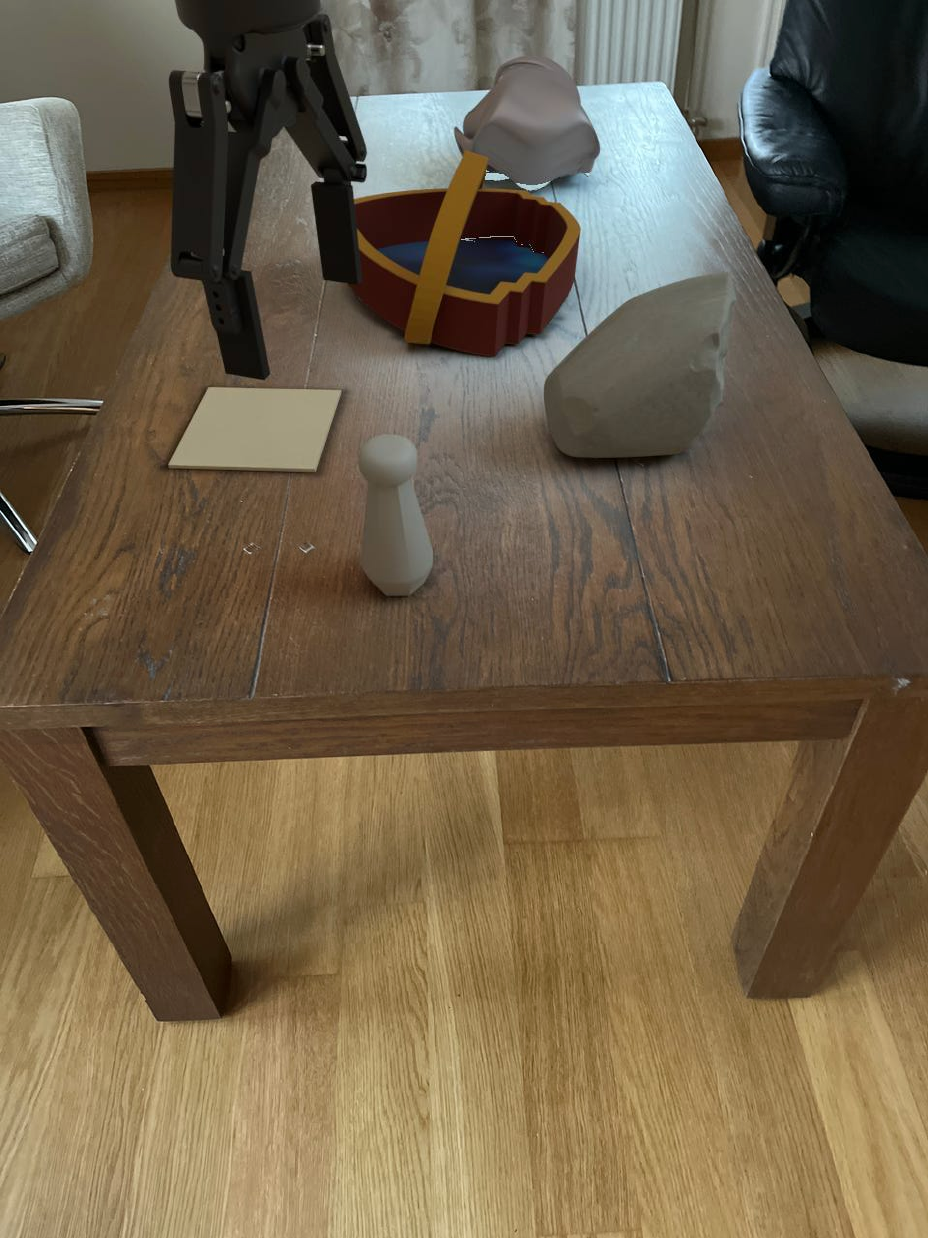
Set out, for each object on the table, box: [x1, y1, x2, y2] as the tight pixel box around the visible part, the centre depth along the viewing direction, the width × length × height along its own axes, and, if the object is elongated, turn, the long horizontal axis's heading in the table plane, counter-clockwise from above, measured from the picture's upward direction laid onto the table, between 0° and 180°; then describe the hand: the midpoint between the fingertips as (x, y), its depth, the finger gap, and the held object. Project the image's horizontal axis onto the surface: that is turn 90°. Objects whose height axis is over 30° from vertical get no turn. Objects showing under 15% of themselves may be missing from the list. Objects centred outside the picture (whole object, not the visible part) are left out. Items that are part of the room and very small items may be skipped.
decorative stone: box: [543, 271, 737, 459], centre depth 86 cm, size 12×17×15 cm
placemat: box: [167, 386, 342, 473], centre depth 93 cm, size 14×14×1 cm
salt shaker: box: [357, 433, 434, 597], centre depth 72 cm, size 6×6×13 cm
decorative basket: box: [346, 150, 581, 358], centre depth 109 cm, size 34×29×15 cm
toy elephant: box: [453, 54, 601, 192], centre depth 135 cm, size 20×18×15 cm
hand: (298, 324), depth 63 cm, fingers open, 13 cm apart
